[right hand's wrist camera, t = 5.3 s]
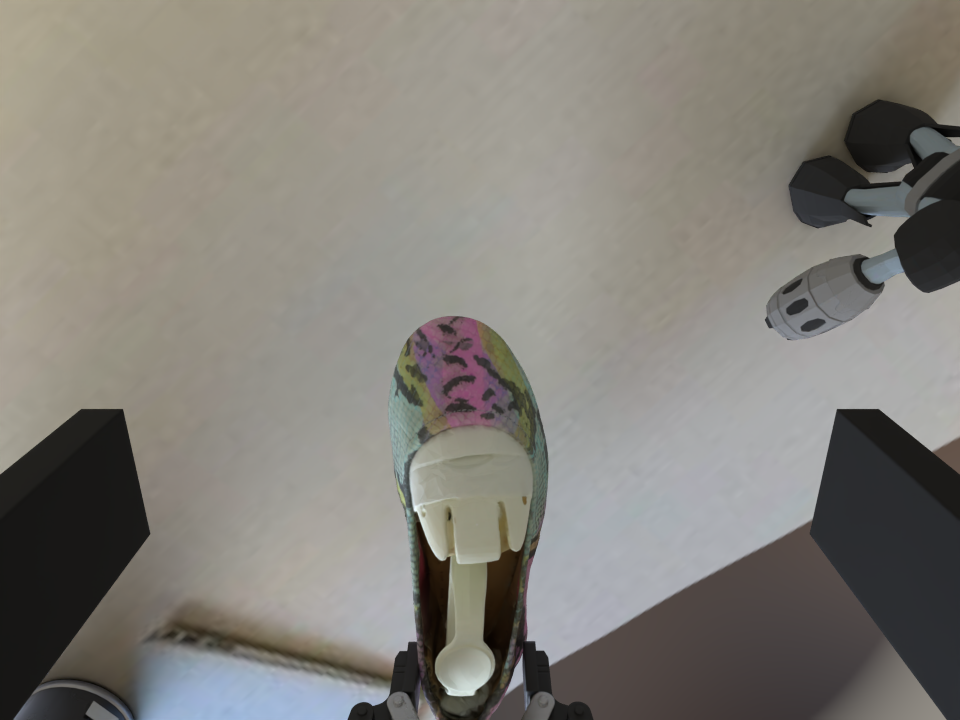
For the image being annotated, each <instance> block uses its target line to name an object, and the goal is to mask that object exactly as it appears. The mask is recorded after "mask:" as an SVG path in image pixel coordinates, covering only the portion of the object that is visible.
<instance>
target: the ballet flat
mask: <svg viewBox="0 0 960 720" xmlns="http://www.w3.org/2000/svg"><path fill="white" fill-rule="evenodd" d="M388 416H389V425H390V435H391V441H392V451H393V460H394V472H395V478H396V482H397V489H398V493H399V496H400V500H401V503H402V505H403V508H404V510H405V517H406V520H407V523H408V536H409V545H410V557H411V572H412V585H413V601H414V612H415V623H416V634H417V651H418V667H419V676H420V681H421V686H422V689H423V692H424V696H425V698H426V701H427V703H428V704H429V706H430V708H431V711H432V712H433V714H434V716H435V718H436V720H489V718H490V716H491V715H492V713H493V712H494V711H495V710H496V709H497V708H498V706H499V704H500V703H501V701H502V699H503V697H504V695H505V693H506V691H507V689H508V686H509V684H510V682H511V678H512V676H513V672H514V668H515V667H516V665H517V664H518V662H519V660H520V658H521V656H522V653H523V641H526V639H527V620H526V595H527V588H528V579H529V572H530V568H531V564H532V562H533V558H534V555H535V552H536V548H537V545H538V541H539V537H540V531H541V527H542V523H543V519H544V514H545V508H546V497H547V484H548V452H547V445H546V439H545V434H544V430H543V425H542V422H541V418H540V414H539V410H538V406H537V403H536V400H535V396H534V394H533V391H532V388H531V386H530V384H529V381H528V379H527V377H526V375H525V373H524V371H523V369H522V367H521V365H520V364H519V362H518V361H517V359H516V357H515V356H514V354H513V353H512V351H511V350H510V348H509V347H508V345H507V344H506V343H505V341H504V340H503V339H502V338H501V337H500V336H499V335H498V334H497V333H496V332H495V331H494V330H492V329H491V328H490V327H488V326H487V325H485V324H484V323H482V322H480V321H477V320H474V319H471V318H467V317H459V316H447V317H441V318H437V319H434V320H431V321H429V322H428V323H426V324H425V325H423V326H421V327H420V328H418V329H417V330H416V331H415V332H414V333H413V334H412V335H411V336H410V337H409V339H408V340H407V342H406V344H405V345H404V347H403V349H402V352H401V354H400V357H399V359H398V362H397V365H396V367H395V371H394V375H393V378H392V383H391V389H390V395H389V404H388Z"/></svg>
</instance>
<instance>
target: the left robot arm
mask: <svg viewBox="0 0 960 720" xmlns="http://www.w3.org/2000/svg"><path fill="white" fill-rule="evenodd" d="M523 682H524V699H525V713H524V715H523V717H522V719H521V720H593V717H592V714H591V711H590V708H589V707H588V706H587V705H586V704H584V703H582V702H573V703H571V704H570V705H569V706H568V705H564V704H561V703H559V702H558V701H556V700H555V698H554V697H553V695H552V690H551V680H550V671H549V661H548V657H547V655H546V653H545V652H544V651H536V646H535V641H523ZM420 685H421V681H420V676H419V667H418V651H417V642H409V643H408V650H407V651H400V652H399V653H398V655H397V656H396V658H395V663H394V669H393V676H392V683H391V689H390V694H389V697H388V698H387V699H386V700H385V701H384V702H383V703H381V704H378V705H375V706H372V705H371V704H369V703H366V702H362V703H358V704H356V705H355V706H354V707H353V708H352V710H351V712H350V715H349V717H348V720H419V718H418V715H417V713H418V704H419V694H420ZM13 720H134V719H133V716H132V714H131V712H130V711H129V709H128V708H127V706H126V705H125V704H124V703H123V702H122V701H121V700H120V699H119V698H118V697H116V696H115V695H114V694H112V693H110V692H109V691H107V690H105V689H103V688H101V687H99V686H96V685H94V684H91V683H87V682H83V681H77V680H56V681H51V682H47V683H44V684H42V685H40V686H38V687H37V688H36V689H35V691H34V692H33V694H32V695H31V696H30V698H29V699H28V700H27V702H26V703H25V704H24V706H23V707H22V708H21V710H20V711H19V713H18V714H17V715H16V717H15V718H14V719H13Z"/></svg>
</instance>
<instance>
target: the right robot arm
mask: <svg viewBox="0 0 960 720" xmlns="http://www.w3.org/2000/svg"><path fill="white" fill-rule="evenodd" d="M149 535H150V530H149V526H148V521H147V517H146V512H145V507H144V503H143V498H142V494H141V489H140V485H139V480H138V476H137V471H136V466H135V462H134V457H133V453H132V448H131V444H130V439H129V434H128V430H127V425H126V421H125V416H124V412H123V409H81V410H80V411H78V412H77V413H76V414H75V415H73V416H72V417H71V418H70V419H69V420H67V421H66V422H65V423H64V424H62V425H61V426H60V427H59V428H57V429H56V430H55V431H54V432H52V433H51V434H50V435H49V436H47V437H46V438H45V439H44V440H43V441H41V442H40V443H39V444H38V445H36V446H35V447H34V448H33V449H31V450H30V451H29V452H28V453H26V454H25V455H24V456H23V457H21V458H20V459H19V460H18V461H17V462H15V463H14V464H13V465H12V466H10V467H9V468H8V469H7V470H5V471H4V472H3V473H2V474H0V720H13V719H14V718H15V717H16V715H17V714H18V713H19V711H20V710H21V708H22V707H23V706H24V704H25V703H26V702H27V700H28V699H29V698H30V696H31V695H32V694H33V692H34V691H35V689H36V688H37V687H38V685H39V684H40V683H41V681H42V680H43V679H44V677H45V676H46V675H47V673H48V672H49V670H50V669H51V668H52V666H53V665H54V664H55V662H56V661H57V660H58V658H59V657H60V656H61V654H62V653H63V652H64V650H65V649H66V647H67V646H68V645H69V643H70V642H71V641H72V639H73V638H74V637H75V635H76V634H77V633H78V631H79V630H80V628H81V627H82V626H83V624H84V623H85V622H86V620H87V619H88V618H89V616H90V615H91V614H92V612H93V611H94V609H95V608H96V607H97V605H98V604H99V603H100V601H101V600H102V599H103V597H104V596H105V595H106V593H107V592H108V590H109V589H110V588H111V586H112V585H113V584H114V582H115V581H116V580H117V578H118V577H119V576H120V574H121V573H122V572H123V570H124V569H125V567H126V566H127V565H128V563H129V562H130V561H131V559H132V558H133V557H134V555H135V554H136V553H137V551H138V550H139V548H140V547H141V546H142V544H143V543H144V542H145V540H146V539H147V538H148V536H149ZM810 535H811V536H812V538H813V539H814V540H815V542H816V543H817V544H818V546H819V547H820V548H821V550H822V551H823V553H824V554H825V555H826V557H827V558H828V559H829V561H830V562H831V563H832V565H833V566H834V567H835V569H836V570H837V572H838V573H839V574H840V576H841V577H842V578H843V580H844V581H845V582H846V584H847V585H848V586H849V588H850V589H851V590H852V592H853V593H854V595H855V596H856V597H857V598H858V600H859V601H860V603H861V604H862V605H863V607H864V608H865V609H866V611H867V612H868V614H869V615H870V616H871V618H872V619H873V620H874V622H875V623H876V624H877V626H878V627H879V628H880V630H881V631H882V632H883V634H884V635H885V637H886V638H887V639H888V641H889V642H890V643H891V645H892V646H893V647H894V649H895V650H896V652H897V653H898V654H899V656H900V657H901V658H902V660H903V661H904V662H905V664H906V665H907V666H908V668H909V669H910V670H911V672H912V673H913V675H914V676H915V677H916V679H917V680H918V681H919V683H920V684H921V685H922V687H923V688H924V689H925V691H926V692H927V693H928V695H929V696H930V698H931V699H932V700H933V702H934V703H935V704H936V706H937V707H938V708H939V710H940V711H941V712H942V714H943V715H944V717H945V718H946V719H947V720H960V474H958V473H957V472H956V471H955V470H953V469H952V468H951V467H950V466H948V465H947V464H946V463H945V462H943V461H942V460H941V459H940V458H939V457H937V456H936V455H935V454H934V453H932V452H931V451H930V450H929V449H927V448H926V447H925V446H924V445H922V444H921V443H920V442H919V441H917V440H916V439H915V438H914V437H913V436H911V435H910V434H909V433H908V432H906V431H905V430H904V429H903V428H901V427H900V426H899V425H898V424H896V423H895V422H894V421H893V420H891V419H890V418H889V417H888V416H887V415H885V414H884V413H883V412H882V411H880V410H879V409H837V412H836V416H835V421H834V425H833V430H832V434H831V439H830V444H829V448H828V453H827V457H826V462H825V466H824V471H823V475H822V480H821V485H820V489H819V494H818V498H817V503H816V507H815V512H814V517H813V521H812V526H811V530H810Z"/></svg>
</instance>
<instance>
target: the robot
mask: <svg viewBox="0 0 960 720" xmlns="http://www.w3.org/2000/svg"><path fill="white" fill-rule="evenodd" d="M945 137H960V127H959V126H949V125H940V124H937V123H936V122H935V121H934V120H933V119H932V118H931V117H930V116H929V115H928V114H926V113H925V112H923V111H921V110H918V109H915V108H912V107H909V106H905V105H901V104H897V103H893V102H888V101H883V100H876V101H875V102H873V103H871V104H870V105H868V106H866V107H864V108H863V109H861V110H859V111H857V112H856V113H854V114H853V115H852V118H851V121H850V125H849V128H848V131H847V134H846V137H845V140H844V141H845V143H846V145H847V147H848V149H849V151H850V152H851V154H852V156H853V158H854V160H855V162H856V163H857V165H859V166H860V167H861V168H863V169H864V170H865V171H867V172H879V173H888V172H892V171H895V170H897V169H898V168H900V167H902V166H903V165H905V164H909V163H912V164H913V167H914V169H913V170H912V171H910V172H909V173H908V174H906V176H905V177H904V178H903V180H902V182H888V183H873V184H870V183H869V181H868V180H867V179H866V178H865V177H864V176H863V175H861V174H860V173H858V172H857V171H855V170H854V169H852V168H851V167H849V166H848V165H846V164H845V163H843V162H842V161H840V160H838V159H837V158H833V157H831V156H825V157H821V158H817V159H813V160H809V161H805V162H803V163H802V165H801V166H800V168H799V169H798V171H797V173H796V174H795V176H794V178H793V179H792V181H791V182H790V184H789V190H790V195H791V200H792V205H793V211H794V213H795V214H796V215H797V217H798V218H799V220H800V221H801V222H803V223H805V224H808V225H810V226H813V227H816V228H821V227H826V226H830V225H834V224H838V223H842V222H846V221H847V219H852V220H854V221H857V222H859V223H861V224H864V225H866V226H869V227H872V225H871V224H869V223H868V222H867V220H869V219H871V218H873V217H875V216H892V217H910V218H909V219H908V220H907V221H905V222H904V223H903V224H902V225H901V226H900V227H899V228H898V230H897V232H896V233H895V235H894V241H895V249H893V250H891V251H888V252H886V253H884V254H881V255H878V256H875V257H873V258H868V257H866V256H863V255H861V254H857V255H851V256H845V257H839V258H834V259H830V260H829V261H827V262H825V263H822V264H820V265H817V266H814V267H812V268H810V269H808V270H807V271H805V272H803V273H802V274H800V275H798V276H797V277H795V278H794V279H793V280H791V281H790V282H788V283H787V284H786V285H784V286H783V287H781V288H780V289H779V290H778V291H776V292H775V293H774V294H773V296H772V297H771V298H770V300H769V302H768V303H767V305H766V307H767V317H766V319H765V321H766V323H767V325H768V327H769V328H774V329H775V330H776V331H777V332H778V333H779V334H780V335H781V336H782V337H785V338H787V340H798V339H804V338H810V337H813V336H816V335H819V334H821V333H824V332H827V331H829V330H831V329H833V328H836V327H838V326H840V325H842V324H844V323H846V322H848V321H850V320H852V319H853V318H855V317H856V316H858V315H859V314H860V313H862V312H863V311H864V310H866V309H868V308H869V307H870V306H871V305H872V304H873V302H874V301H875V300H876V299H877V298H878V296H879V295H880V294H881V293H882V291H883V288H884V286H885V285H884V281H886V280H887V279H889V278H891V277H892V276H894V275H896V274H898V273H902V272H905V274H906V276H907V277H908V279H909V280H910V281H911V282H912V284H913V285H914V286H915V287H917V288H918V289H919V290H921V291H922V292H926V293H930V292H933V291H936V290H939V289H942V288H944V287H947V286H949V285H951V284H953V283H956V282H958V281H960V146H956V145H955V144H953V143H952V141H951V140H950V139H947V138H945Z"/></svg>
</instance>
